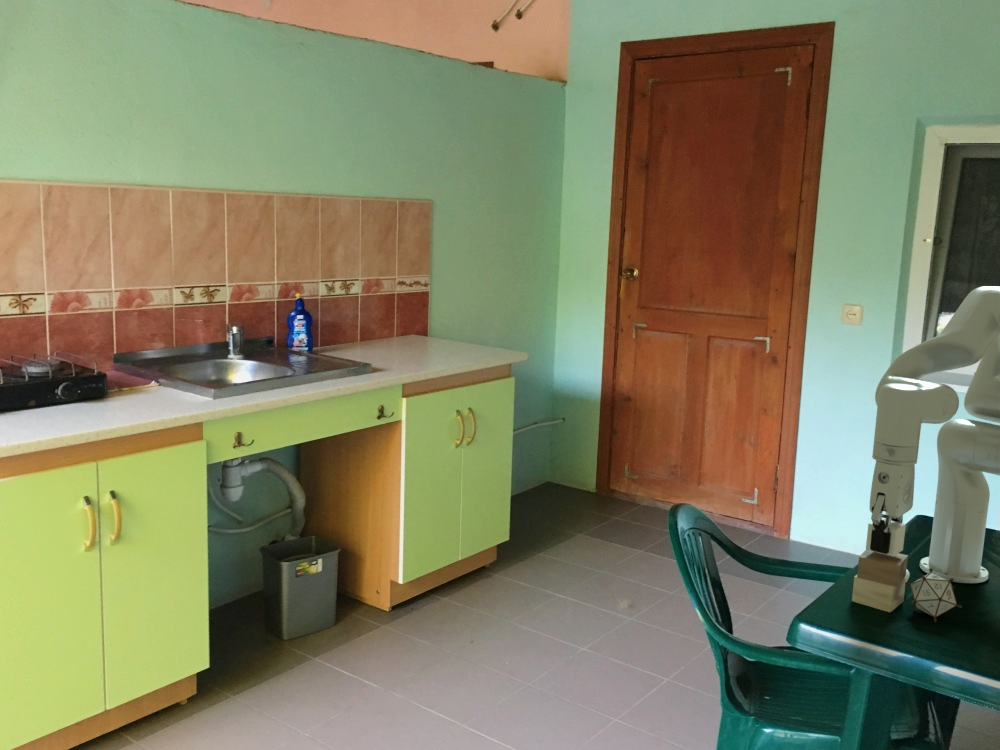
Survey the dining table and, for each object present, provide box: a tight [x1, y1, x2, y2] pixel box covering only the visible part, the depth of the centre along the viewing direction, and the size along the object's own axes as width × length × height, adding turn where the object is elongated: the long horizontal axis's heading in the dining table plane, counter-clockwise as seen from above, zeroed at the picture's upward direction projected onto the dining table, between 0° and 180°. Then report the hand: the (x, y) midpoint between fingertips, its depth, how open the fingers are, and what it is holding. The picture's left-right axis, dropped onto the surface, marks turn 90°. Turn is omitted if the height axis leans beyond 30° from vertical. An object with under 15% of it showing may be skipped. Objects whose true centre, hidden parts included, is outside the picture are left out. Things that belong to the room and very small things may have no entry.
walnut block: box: [856, 549, 909, 587], centre depth 172 cm, size 7×7×4 cm
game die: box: [905, 568, 962, 623], centre depth 167 cm, size 9×8×10 cm
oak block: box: [851, 574, 907, 613], centre depth 172 cm, size 7×7×5 cm
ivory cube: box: [865, 518, 907, 557], centre depth 171 cm, size 5×5×5 cm
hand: (885, 547), depth 171 cm, fingers closed on ivory cube, 5 cm apart
